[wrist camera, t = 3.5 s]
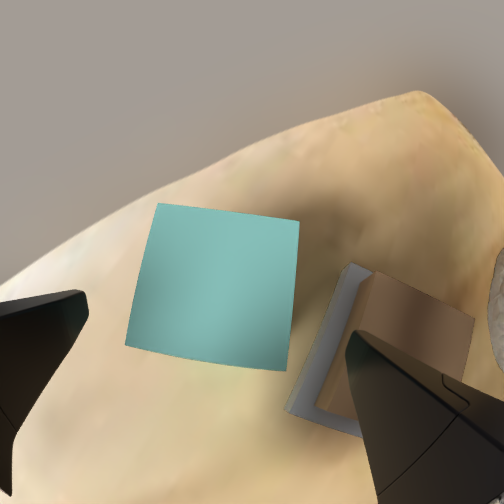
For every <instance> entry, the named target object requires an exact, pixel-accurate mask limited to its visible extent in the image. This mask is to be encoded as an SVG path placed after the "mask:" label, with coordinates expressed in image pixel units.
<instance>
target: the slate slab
mask: <svg viewBox="0 0 504 504" xmlns="http://www.w3.org/2000/svg"><path fill="white" fill-rule="evenodd" d="M371 274H373V272H371V271H369V270H367V269H365V268H363V267H361V266H358V265H356V264H354V263H352V262H350V263H349V264H348V265H347V266H346V267H345V268H344V269H343V270H342V271H341V274H340V277H339V280H338V282H337V285H336V288H335V290H334V293H333V296H332V298H331V301H330V304H329V306H328V309H327V311H326V314H325V316H324V319H323V321H322V324H321V326H320V329H319V331H318V334H317V336H316V338H315V341H314V343H313V345H312V348H311V350H310V352H309V355H308V357H307V359H306V362H305V364H304V366H303V368H302V371H301V373H300V375H299V377H298V380H297V382H296V384H295V386H294V388H293V390H292V393H291V395H290V397H289V399H288V401H287V403H286V405H285V407H284V410H286V411H287V412H288V413H290V414H293V415H295V416H298V417H301V418H303V419H306V420H309V421H312V422H315V423H317V424H320V425H323V426H326V427H329V428H332V429H335V430H338V431H341V432H344V433H348V434H351V435H354V436H358V437H361V438H363V437H362V433H361V429H360V425H359V421H357V420H353V419H350V418H347V417H344V416H341V415H337V414H334V413H331V412H328V411H326V410H323V409H321V408H319V407H316V406H314V404H315V402H316V399H317V397H318V395H319V392H320V390H321V388H322V385H323V383H324V380H325V378H326V376H327V373H328V371H329V368H330V366H331V363H332V361H333V358H334V356H335V353H336V350H337V348H338V345H339V342H340V340H341V337H342V334H343V332H344V329H345V326H346V323H347V320H348V318H349V315H350V312H351V309H352V306H353V303H354V300H355V297H356V294H357V291H358V288H359V284H360V282H362V281H363V280H364V279H366V278H367V277H369V276H370V275H371Z"/></svg>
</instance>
